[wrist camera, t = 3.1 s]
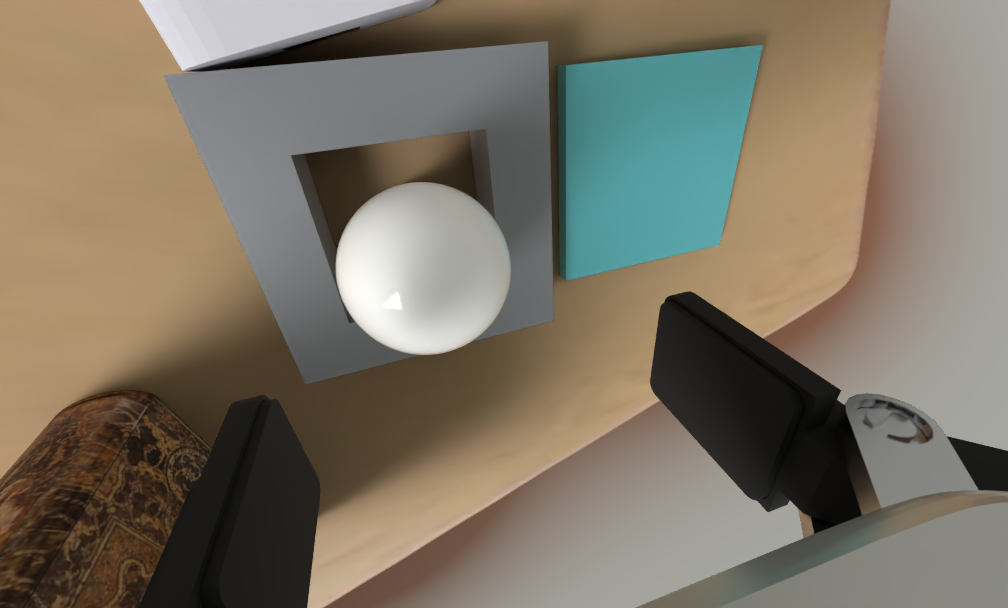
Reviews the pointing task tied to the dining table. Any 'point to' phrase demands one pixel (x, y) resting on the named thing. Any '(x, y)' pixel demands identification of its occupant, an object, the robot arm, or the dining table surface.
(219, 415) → the dining table surface
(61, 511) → the book
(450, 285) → the lightbulb
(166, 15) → the charger
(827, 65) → the dining table surface
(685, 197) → the plate
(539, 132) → the frame
